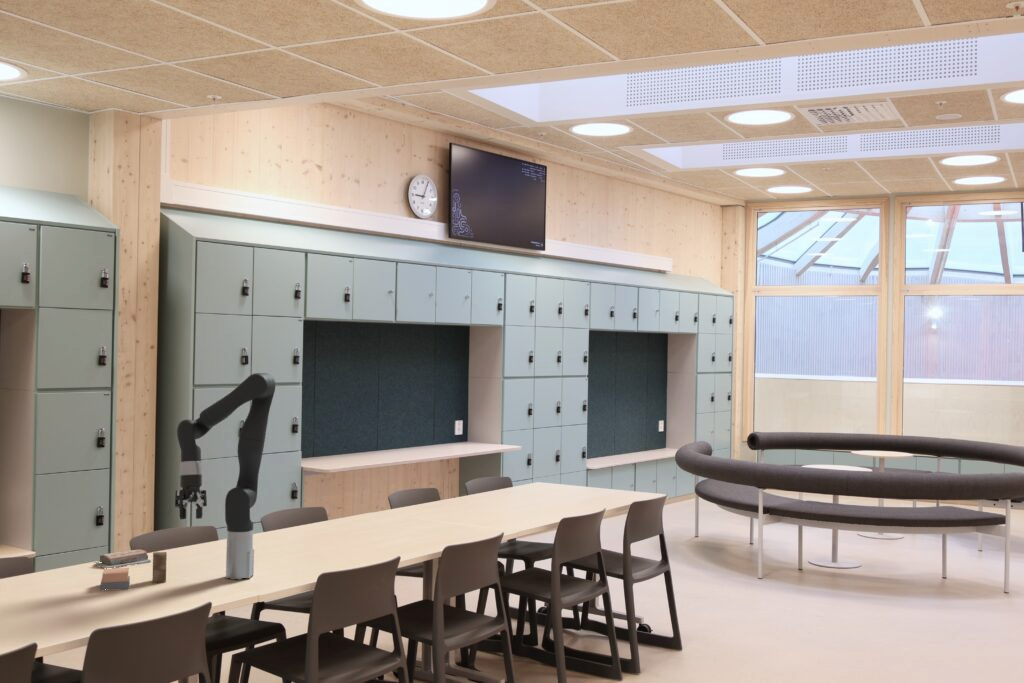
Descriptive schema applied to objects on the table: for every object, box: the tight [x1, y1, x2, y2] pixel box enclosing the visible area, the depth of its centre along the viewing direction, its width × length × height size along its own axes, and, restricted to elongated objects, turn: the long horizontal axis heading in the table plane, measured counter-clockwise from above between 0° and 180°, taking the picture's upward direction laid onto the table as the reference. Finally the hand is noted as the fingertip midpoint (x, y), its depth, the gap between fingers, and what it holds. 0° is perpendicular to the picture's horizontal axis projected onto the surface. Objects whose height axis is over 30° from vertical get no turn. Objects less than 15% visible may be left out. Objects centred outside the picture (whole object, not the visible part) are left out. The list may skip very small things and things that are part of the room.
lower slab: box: [100, 575, 131, 591], centre depth 338 cm, size 9×9×3 cm
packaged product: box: [93, 548, 152, 569], centre depth 374 cm, size 18×5×10 cm
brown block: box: [152, 551, 168, 584], centre depth 347 cm, size 4×4×10 cm
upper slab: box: [101, 567, 130, 583], centre depth 338 cm, size 8×8×3 cm
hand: (191, 518), depth 354 cm, fingers open, 8 cm apart
